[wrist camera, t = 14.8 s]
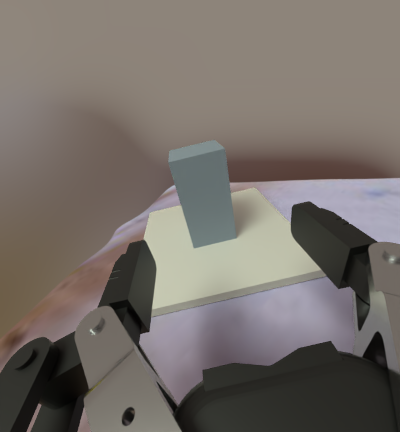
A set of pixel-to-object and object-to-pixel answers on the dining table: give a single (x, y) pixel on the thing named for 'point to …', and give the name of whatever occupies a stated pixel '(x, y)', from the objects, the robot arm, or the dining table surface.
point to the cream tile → (225, 256)
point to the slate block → (204, 192)
